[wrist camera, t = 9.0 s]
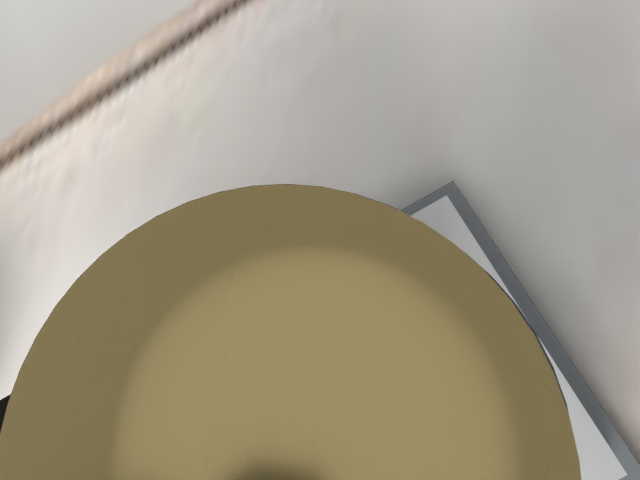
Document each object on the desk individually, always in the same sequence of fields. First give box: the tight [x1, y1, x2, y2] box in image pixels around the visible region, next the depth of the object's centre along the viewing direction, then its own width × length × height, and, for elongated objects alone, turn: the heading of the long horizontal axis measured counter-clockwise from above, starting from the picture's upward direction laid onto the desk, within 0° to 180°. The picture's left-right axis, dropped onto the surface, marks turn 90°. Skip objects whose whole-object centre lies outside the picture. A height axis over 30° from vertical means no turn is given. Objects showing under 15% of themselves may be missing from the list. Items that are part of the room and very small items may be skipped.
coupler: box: [0, 184, 581, 480], centre depth 10 cm, size 4×4×14 cm
